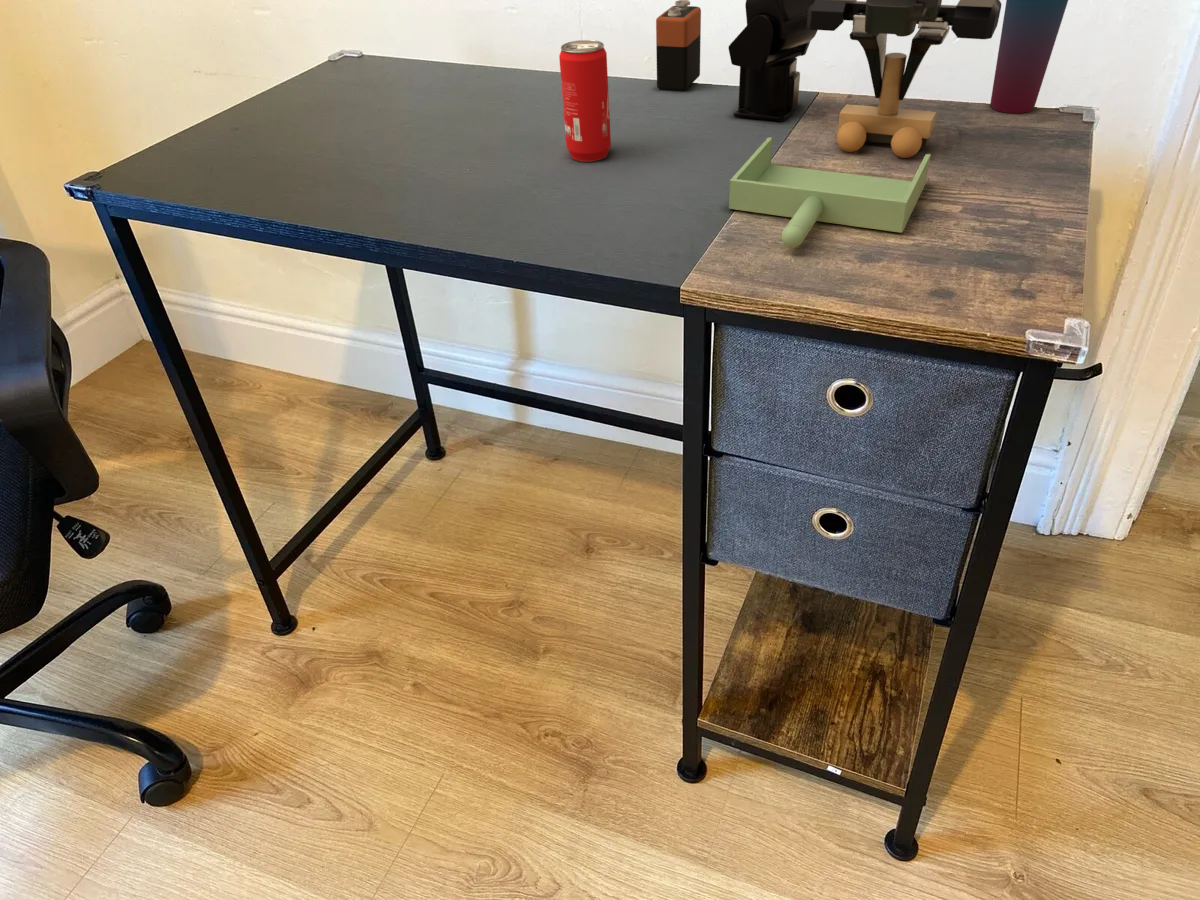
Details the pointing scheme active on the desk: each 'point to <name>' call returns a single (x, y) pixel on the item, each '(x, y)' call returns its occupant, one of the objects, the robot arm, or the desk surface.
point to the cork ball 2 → (906, 142)
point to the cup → (1025, 52)
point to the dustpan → (823, 196)
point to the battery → (678, 46)
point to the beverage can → (585, 99)
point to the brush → (889, 108)
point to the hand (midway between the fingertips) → (889, 98)
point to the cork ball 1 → (851, 136)
